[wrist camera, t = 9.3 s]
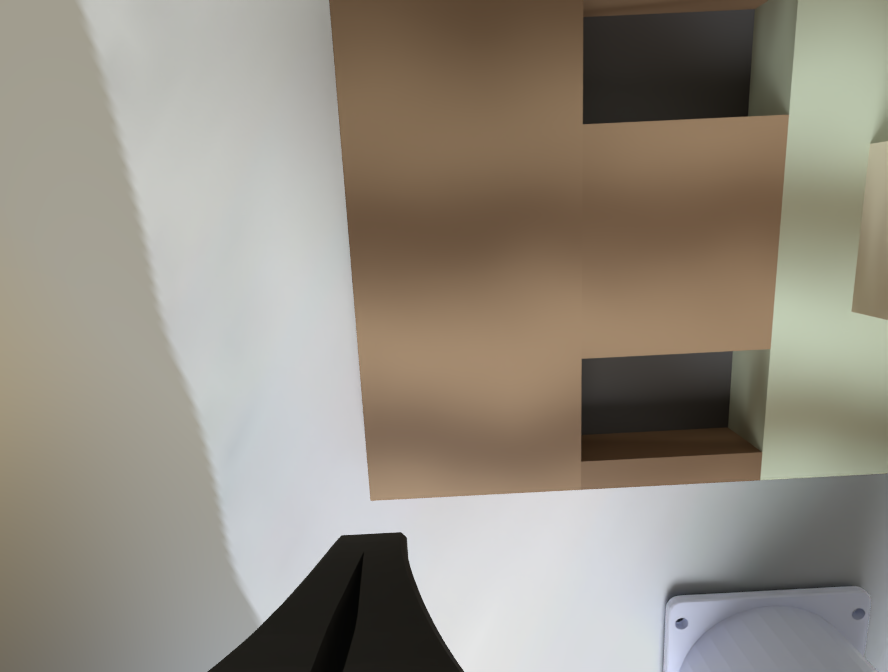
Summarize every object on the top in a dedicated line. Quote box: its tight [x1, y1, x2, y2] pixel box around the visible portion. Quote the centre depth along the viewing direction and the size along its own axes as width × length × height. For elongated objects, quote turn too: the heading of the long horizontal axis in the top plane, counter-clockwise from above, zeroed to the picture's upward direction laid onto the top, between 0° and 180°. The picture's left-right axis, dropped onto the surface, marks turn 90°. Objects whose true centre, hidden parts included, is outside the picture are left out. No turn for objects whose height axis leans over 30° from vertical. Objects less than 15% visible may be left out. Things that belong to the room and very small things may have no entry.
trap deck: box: [329, 0, 888, 501], centre depth 18 cm, size 16×20×2 cm
